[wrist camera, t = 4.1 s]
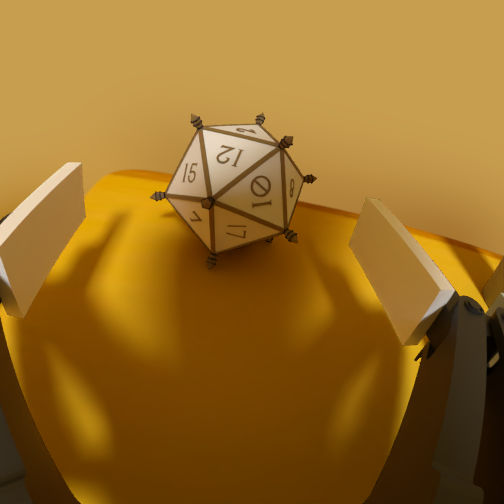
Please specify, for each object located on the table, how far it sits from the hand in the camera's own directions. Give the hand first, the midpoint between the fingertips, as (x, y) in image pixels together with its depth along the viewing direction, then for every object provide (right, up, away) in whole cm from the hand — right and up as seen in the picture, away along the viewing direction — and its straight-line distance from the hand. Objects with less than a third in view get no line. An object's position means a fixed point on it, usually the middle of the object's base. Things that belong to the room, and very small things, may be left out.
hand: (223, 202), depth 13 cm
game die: (0, -2, +7) cm, 7 cm away
